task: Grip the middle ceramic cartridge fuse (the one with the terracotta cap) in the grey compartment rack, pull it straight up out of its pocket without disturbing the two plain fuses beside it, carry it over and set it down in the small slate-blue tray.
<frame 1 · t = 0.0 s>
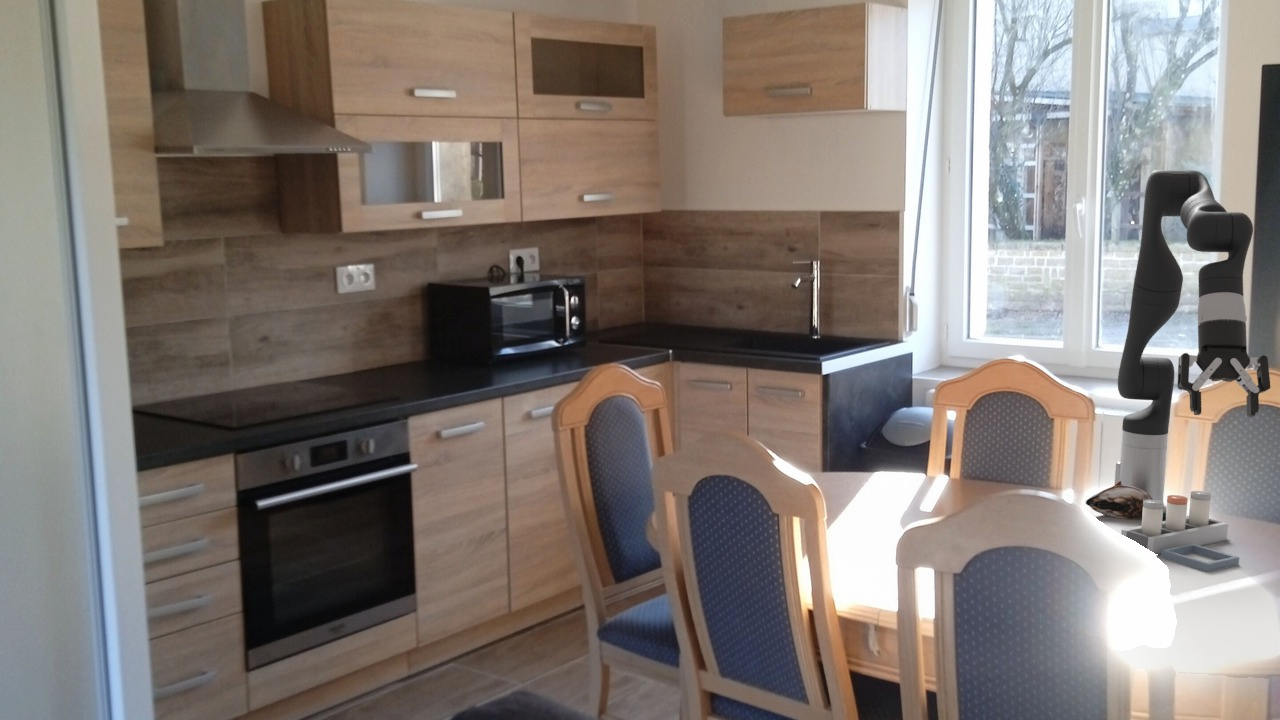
hand: (1224, 415, 211), 31 cm above the table, fingers open, 8 cm apart
tray: (1199, 567, 230), on the table
fuse c: (1150, 547, 238), point 1 cm above the table, touching grey compartment rack
decorative duck model: (1125, 525, 259), on the table
fuse a: (1197, 537, 245), point 1 cm above the table, touching grey compartment rack
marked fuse: (1174, 542, 242), point 1 cm above the table, touching grey compartment rack
grey compartment rack: (1173, 548, 242), on the table
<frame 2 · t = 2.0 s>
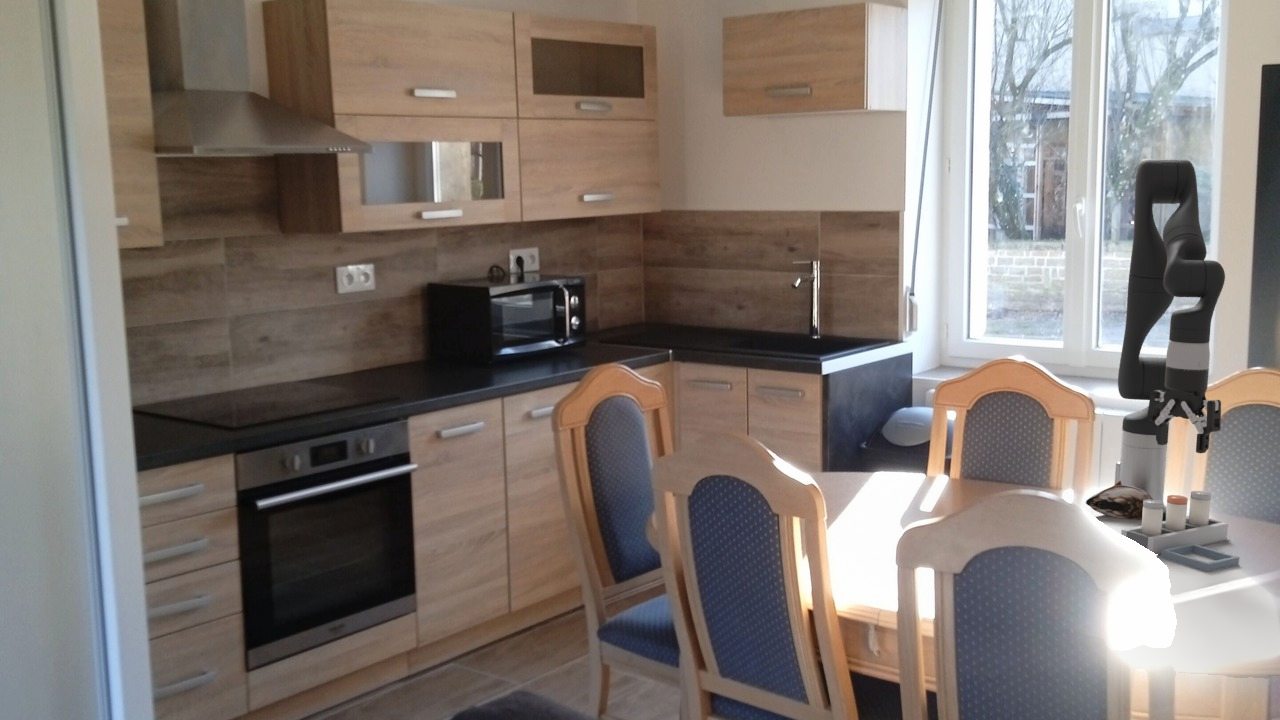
hand: (1181, 448, 239), 20 cm above the table, fingers open, 8 cm apart
nothing on the table moved.
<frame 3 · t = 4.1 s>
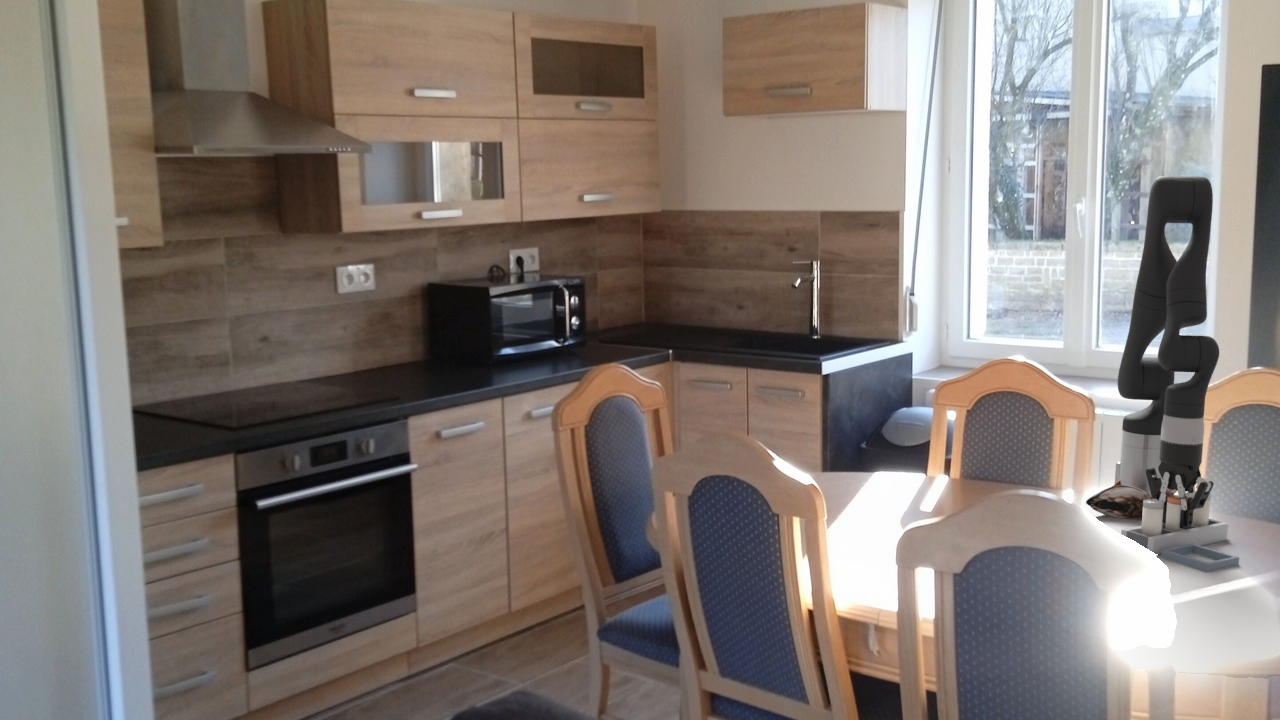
hand: (1175, 525, 241), 5 cm above the table, fingers closed on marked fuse, 3 cm apart
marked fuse: (1174, 542, 242), point 1 cm above the table, touching grey compartment rack, gripper
everything else where it was.
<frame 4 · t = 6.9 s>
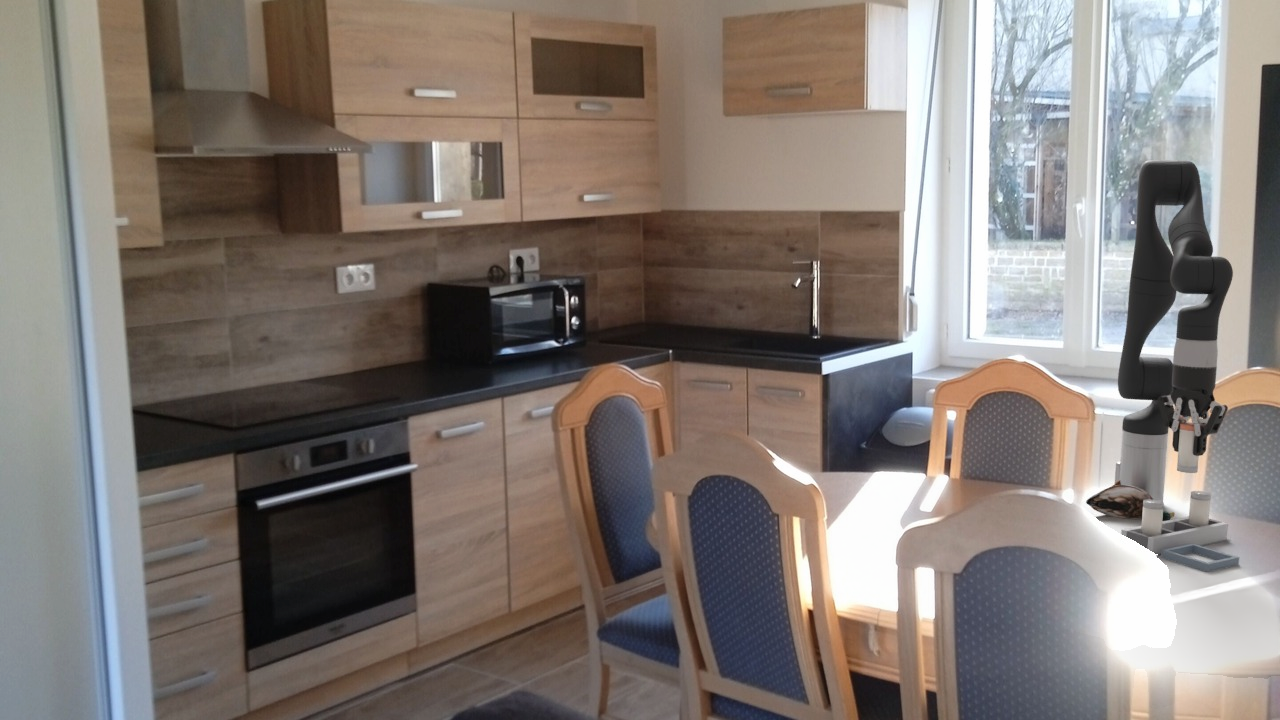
hand: (1188, 452, 235), 20 cm above the table, fingers closed on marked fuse, 3 cm apart
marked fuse: (1187, 470, 236), point 16 cm above the table, touching gripper
everything else where it was.
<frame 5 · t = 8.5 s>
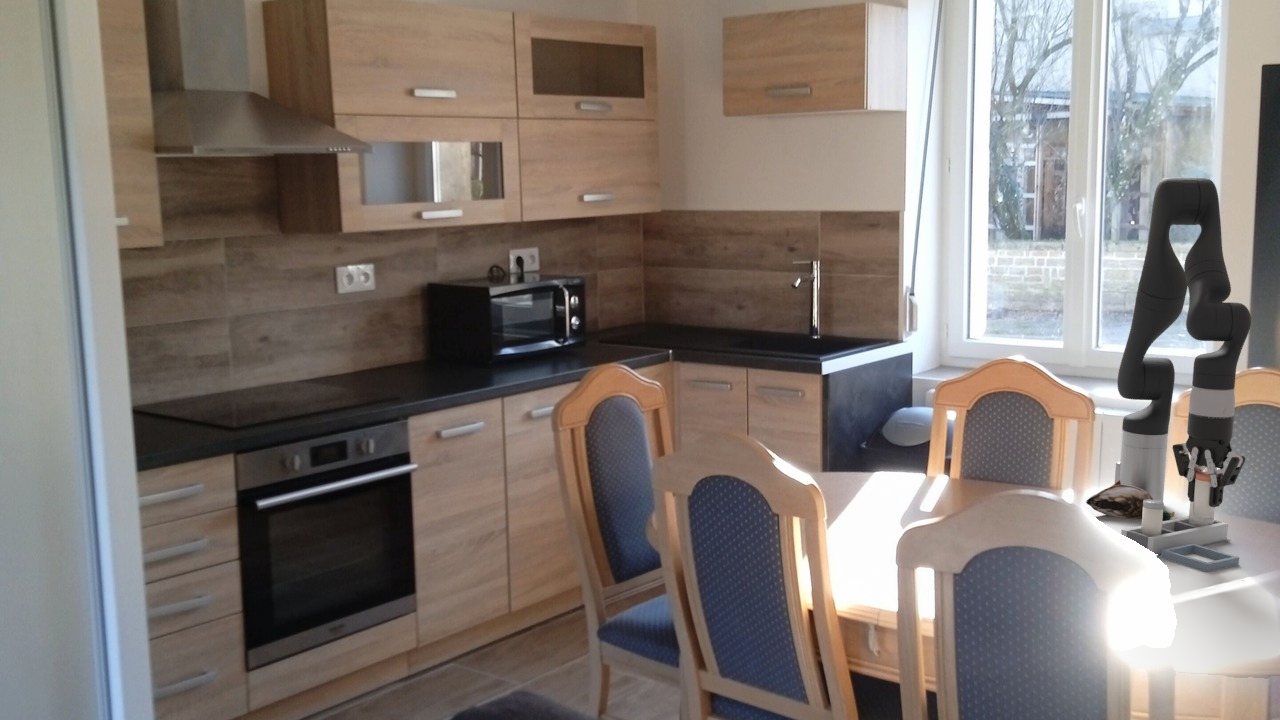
hand: (1204, 503, 229), 12 cm above the table, fingers closed on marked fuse, 3 cm apart
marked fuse: (1202, 521, 229), point 9 cm above the table, touching gripper
everything else where it was.
when the fingers open (6 cm above the table, at t = 9.8 s): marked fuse drops 1 cm, resting on tray.
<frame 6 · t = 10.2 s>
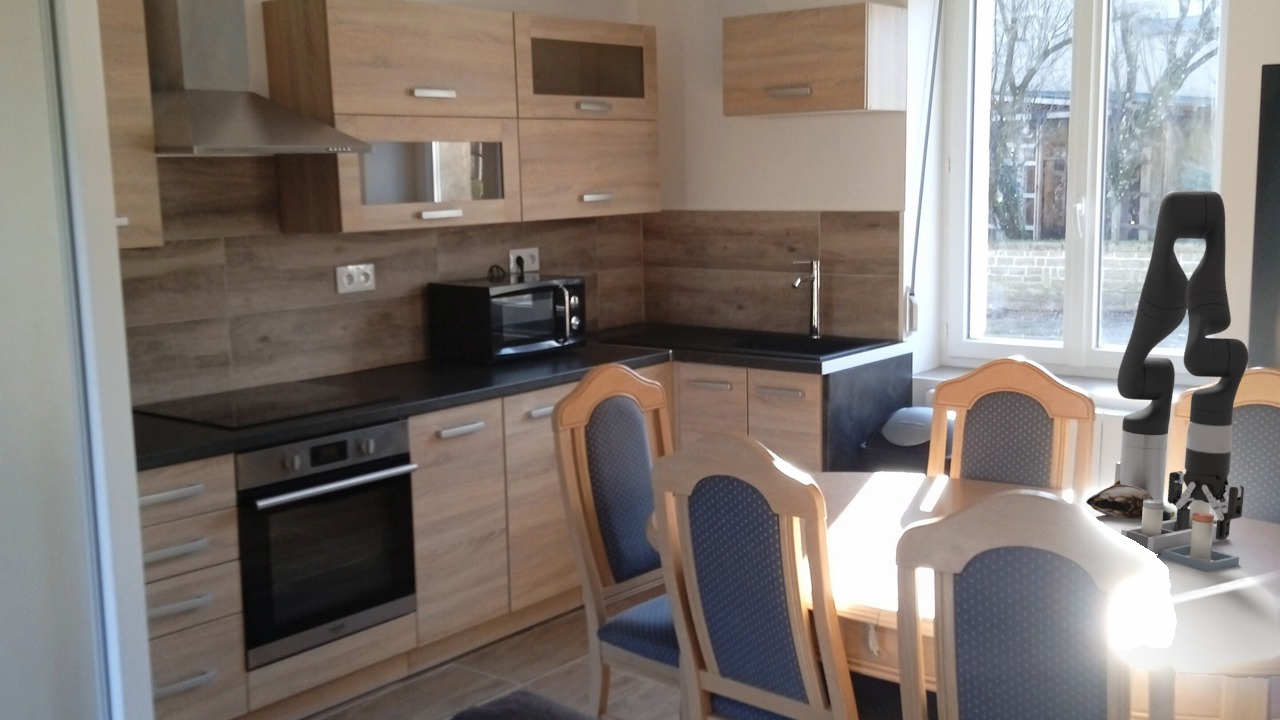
hand: (1201, 533, 229), 6 cm above the table, fingers open, 7 cm apart
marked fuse: (1199, 562, 230), point 1 cm above the table, touching tray
everything else where it was.
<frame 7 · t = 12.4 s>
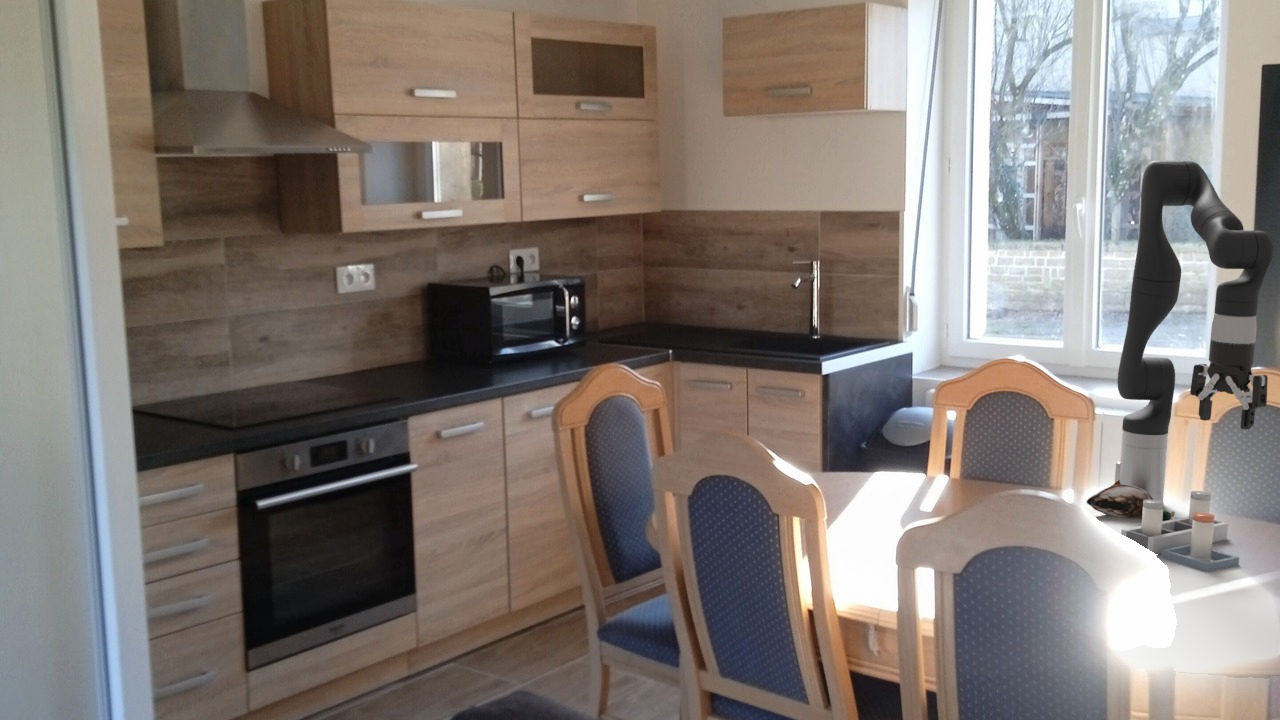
hand: (1225, 424, 233), 26 cm above the table, fingers open, 8 cm apart
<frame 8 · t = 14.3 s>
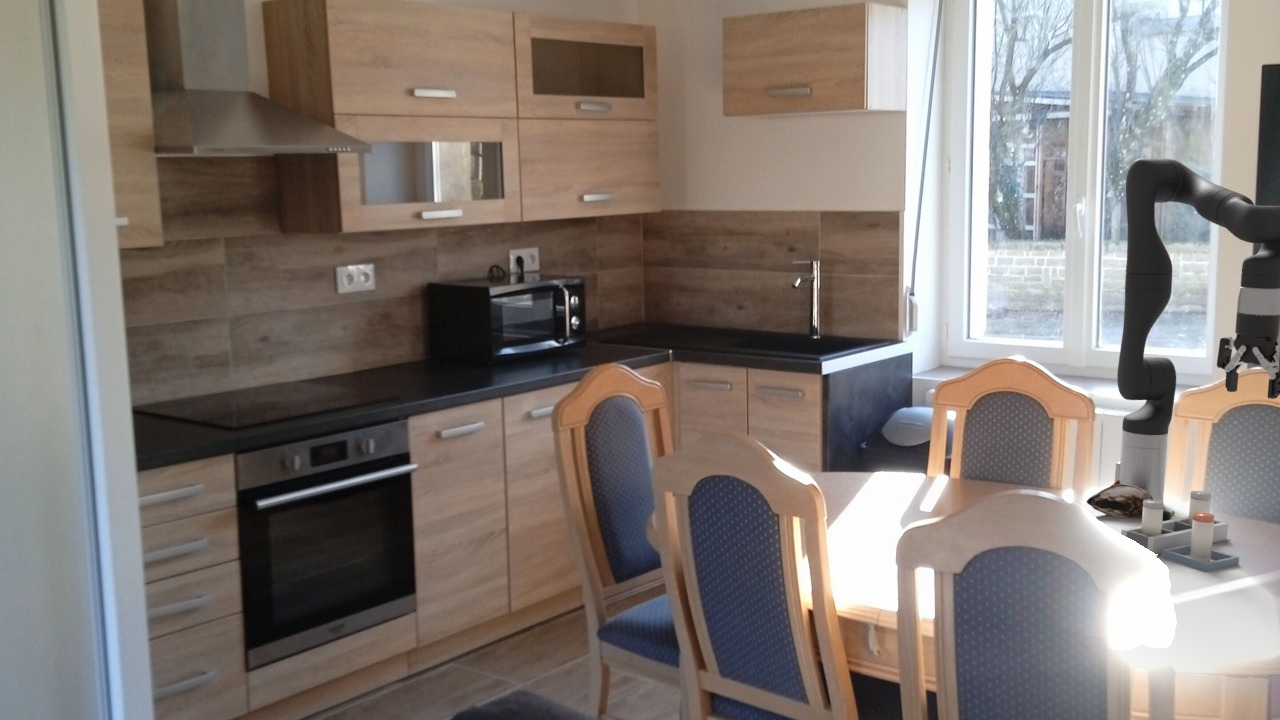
hand: (1251, 394, 240), 30 cm above the table, fingers open, 8 cm apart
at the end: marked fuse inside the target area on the tray (0.1 cm from its centre), point 1.0 cm above the tray's base; fuse a moved 0.1 cm from its start; fuse c moved 0.1 cm from its start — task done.
